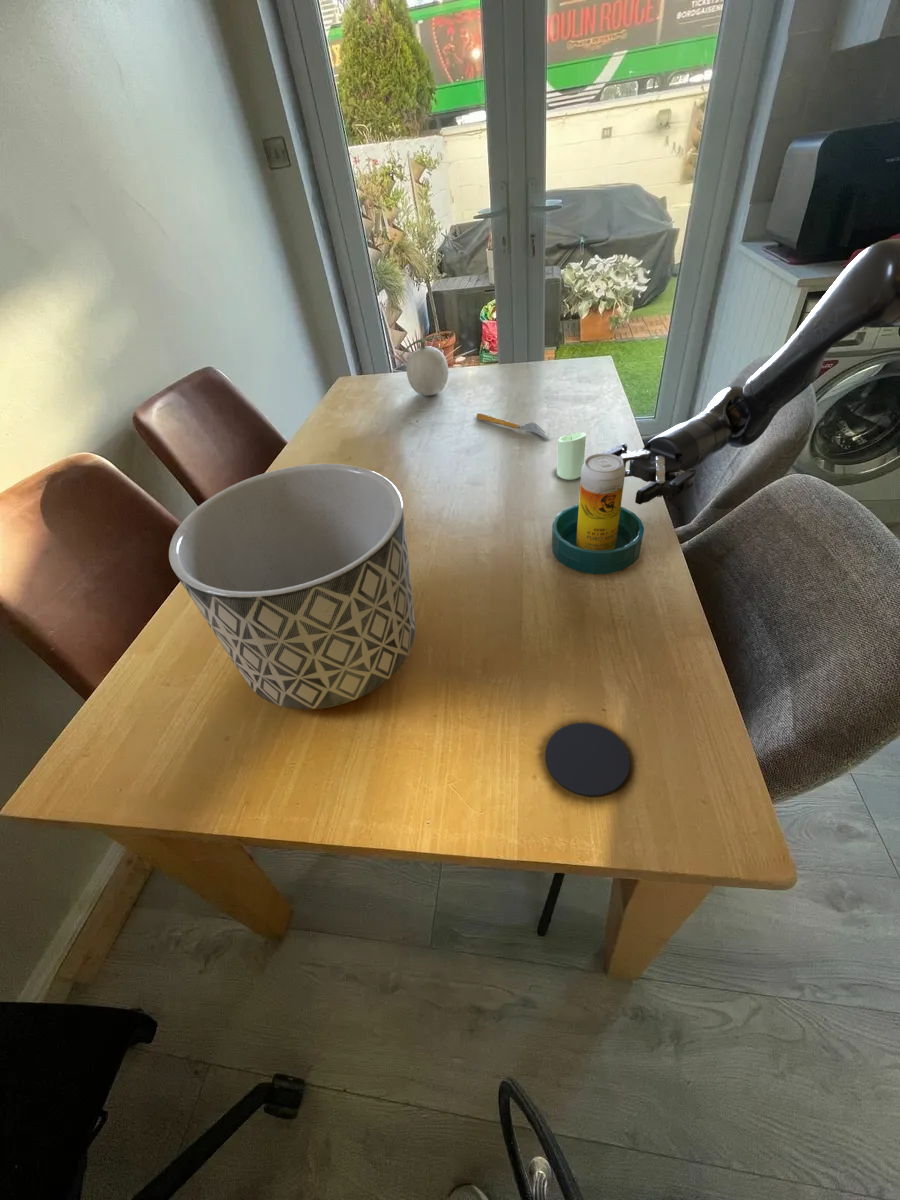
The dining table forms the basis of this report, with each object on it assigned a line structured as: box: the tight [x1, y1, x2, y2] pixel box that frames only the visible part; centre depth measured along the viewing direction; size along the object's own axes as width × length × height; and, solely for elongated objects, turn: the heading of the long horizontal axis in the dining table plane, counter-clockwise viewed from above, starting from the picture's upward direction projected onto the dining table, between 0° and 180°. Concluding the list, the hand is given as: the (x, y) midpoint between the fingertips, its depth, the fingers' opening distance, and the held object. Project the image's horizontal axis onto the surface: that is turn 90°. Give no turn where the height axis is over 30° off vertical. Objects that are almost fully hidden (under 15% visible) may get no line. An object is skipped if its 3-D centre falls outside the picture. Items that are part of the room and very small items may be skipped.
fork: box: [476, 412, 547, 440], centre depth 123 cm, size 2×2×20 cm
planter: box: [168, 463, 416, 711], centre depth 69 cm, size 26×26×22 cm
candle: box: [556, 432, 587, 481], centre depth 104 cm, size 5×5×8 cm
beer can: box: [576, 452, 626, 551], centre depth 83 cm, size 6×6×15 cm
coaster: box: [544, 722, 631, 798], centre depth 60 cm, size 9×9×1 cm
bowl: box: [551, 504, 645, 576], centre depth 87 cm, size 14×14×4 cm
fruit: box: [400, 335, 449, 397], centre depth 138 cm, size 10×12×15 cm
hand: (614, 488), depth 83 cm, fingers open, 8 cm apart
